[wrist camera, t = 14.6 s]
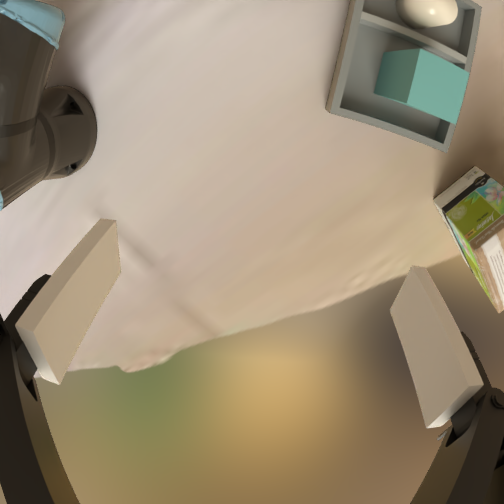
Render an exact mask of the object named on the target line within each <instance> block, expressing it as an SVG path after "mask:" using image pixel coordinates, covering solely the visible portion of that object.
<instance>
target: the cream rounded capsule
mask: <svg viewBox="0 0 504 504" xmlns="http://www.w3.org/2000/svg"><path fill="white" fill-rule="evenodd" d="M396 11H397V14H398V16H399V17H400V19H401V20H402V21H403V22H404V23H405V24H406V25H408V26H410V27H412V28H415V29H425V28H430V27H436V26H441V25H447V24H450V23H452V22H453V21H454V20H455V19H456V17H457V13H458V8H457V3H456V1H455V0H396Z"/></svg>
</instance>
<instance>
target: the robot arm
mask: <svg viewBox="0 0 504 504" xmlns="http://www.w3.org/2000/svg"><path fill="white" fill-rule="evenodd" d="M64 24H65V15H64V13H63V11H62V10H61V9H59V8H58V7H55V6H52V5H49V4H46V3H43V2H39V1H35V0H0V211H1V210H2V209H3V208H5V207H6V206H7V205H8V204H10V203H11V202H12V201H14V200H15V199H16V198H18V197H19V196H21V195H22V194H23V193H25V192H26V191H27V190H29V189H30V188H32V187H33V186H35V185H36V184H37V183H39V182H40V181H42V180H49V179H58V178H64V177H67V176H69V175H71V174H73V173H75V172H76V171H78V170H79V169H81V168H82V167H83V166H84V165H85V164H86V163H87V162H88V160H89V159H90V157H91V155H92V153H93V151H94V148H95V144H96V138H97V125H96V119H95V115H94V112H93V110H92V107H91V105H90V104H89V102H88V100H87V99H86V98H85V97H84V96H83V95H82V94H81V93H80V92H79V91H77V90H76V89H74V88H72V87H68V86H55V87H51V88H47V89H45V86H46V82H47V79H48V75H49V72H50V68H51V65H52V62H53V59H54V56H55V52H56V50H58V48H59V44H58V42H59V39H60V36H61V33H62V30H63V27H64ZM120 273H121V266H120V257H119V248H118V237H117V226H116V220H109V219H100V220H99V221H98V222H97V223H96V224H95V225H94V226H93V228H92V229H91V230H90V231H89V232H88V233H87V234H86V235H85V237H84V238H83V239H82V240H81V241H80V242H79V243H78V245H77V246H76V247H75V248H74V249H73V250H72V252H71V253H70V254H69V255H68V256H67V257H66V259H65V260H64V261H63V262H62V264H61V265H60V266H59V267H58V268H57V270H56V271H55V272H54V273H53V275H52V276H51V275H47V274H45V275H43V276H42V277H40V278H39V279H37V280H36V281H35V282H34V283H33V284H32V285H31V287H30V288H29V289H28V292H26V293H25V294H24V295H23V297H22V300H21V299H20V301H19V302H18V303H17V305H16V306H15V307H14V309H13V310H12V311H11V313H10V314H9V315H8V317H7V318H6V320H5V321H3V318H2V316H1V314H0V484H1V487H2V490H3V493H4V496H5V499H6V502H7V504H80V503H79V501H78V499H77V497H76V495H75V493H74V490H73V488H72V486H71V484H70V482H69V479H68V477H67V474H66V472H65V470H64V467H63V465H62V462H61V460H60V457H59V455H58V452H57V449H56V447H55V444H54V441H53V438H52V435H51V432H50V429H49V426H48V423H47V420H46V417H45V413H44V410H43V407H42V403H41V399H40V396H39V392H38V388H37V384H36V381H35V379H34V377H33V376H34V374H35V372H36V370H37V369H38V371H39V373H40V375H41V376H42V378H43V379H45V380H48V381H51V382H53V383H56V384H59V385H60V383H61V381H62V379H63V377H64V375H65V373H66V371H67V369H68V367H69V365H70V363H71V361H72V359H73V357H74V355H75V353H76V351H77V349H78V347H79V345H80V344H81V342H82V340H83V338H84V336H85V334H86V332H87V330H88V329H89V327H90V325H91V323H92V321H93V319H94V318H95V316H96V314H97V312H98V311H99V309H100V307H101V305H102V304H103V302H104V300H105V298H106V297H107V295H108V293H109V291H110V290H111V288H112V286H113V285H114V283H115V281H116V280H117V278H118V276H119V275H120ZM390 312H391V315H392V318H393V321H394V324H395V326H396V329H397V332H398V335H399V338H400V341H401V344H402V347H403V350H404V353H405V356H406V358H407V362H408V365H409V369H410V372H411V375H412V378H413V382H414V385H415V388H416V392H417V395H418V399H419V403H420V406H421V410H422V414H423V417H424V421H425V424H426V428H432V427H440V426H442V425H443V424H444V423H446V422H447V420H449V419H450V418H451V421H452V425H451V426H450V427H449V428H448V429H446V430H445V431H444V432H443V433H442V434H441V435H440V436H439V437H438V438H437V440H440V439H441V438H442V437H443V436H445V437H444V439H443V441H442V444H441V446H440V448H439V450H438V452H437V454H436V457H435V459H434V461H433V462H432V465H431V467H430V469H429V470H428V472H427V474H426V476H425V478H424V480H423V482H422V484H421V485H420V487H419V489H418V491H417V493H416V494H415V496H414V498H413V500H412V501H411V503H410V504H504V393H503V392H502V391H501V390H500V389H497V388H492V387H491V384H490V382H489V380H488V378H487V375H486V373H485V370H484V368H483V366H482V364H481V362H480V360H479V357H478V355H477V353H476V352H475V349H474V347H473V345H472V343H471V341H470V339H469V338H468V337H467V336H466V335H465V334H464V333H463V332H460V331H459V329H458V327H457V325H456V323H455V321H454V319H453V317H452V315H451V313H450V311H449V309H448V307H447V306H446V304H445V302H444V300H443V298H442V296H441V295H440V293H439V291H438V289H437V287H436V286H435V284H434V282H433V280H432V279H431V277H430V275H429V273H428V272H427V270H426V268H425V267H419V266H413V265H412V266H411V268H410V270H409V272H408V275H407V277H406V279H405V281H404V283H403V285H402V287H401V289H400V291H399V293H398V296H397V297H396V299H395V301H394V303H393V305H392V307H391V309H390Z"/></svg>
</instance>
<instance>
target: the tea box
mask: <svg viewBox="0 0 504 504" xmlns="http://www.w3.org/2000/svg"><path fill="white" fill-rule="evenodd" d="M433 200H434V203H435V205H436V207H437V209H438V211H439V213H440V214H441V216H442V218H443V220H444V222H445V224H446V225H447V227H448V229H449V231H450V233H451V235H452V237H453V239H454V241H455V243H456V245H457V247H458V249H459V251H460V253H461V255H462V257H463V259H464V261H465V262H466V264H467V265H468V266H469V268H470V269H471V271H472V273H473V274H474V276H475V277H476V278H477V280H478V282H479V283H480V284H481V286H482V288H483V289H484V291H485V293H486V294H487V296H488V297H489V299H490V300H491V302H492V304H493V305H494V307H495V308H496V310H497V311H498V313H500V312H501V311H503V310H504V187H503V186H502V185H500V184H499V183H498V182H497V181H495V180H494V179H493V178H491V177H490V176H488V175H487V174H486V173H485V172H483V171H482V170H480V169H479V168H478V167H476V166H474V167H473V168H472V169H471V170H470V171H468V172H467V173H466V174H465V175H463V176H462V177H461V178H460V179H458V180H457V181H456V182H455V183H453V184H452V185H451V186H450V187H448V188H447V189H446V190H445V191H443V192H442V193H441V194H439V195H438V196H437V197H436V198H434V199H433Z"/></svg>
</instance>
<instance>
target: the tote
mask: <svg viewBox="0 0 504 504" xmlns="http://www.w3.org/2000/svg"><path fill="white" fill-rule="evenodd" d="M455 1H456V3H457V8H458V13H457V17H456V19H455V20H454V21H453V22H452V23H450V24H447V25H441V26H436V27H430V28H425V29H415V28H412V27H410V26H408V25H406V24H405V23H404V22H403V21H402V20H401V19H400V17H399V16H398V14H397V11H396V0H350V4H349V9H348V14H347V18H346V23H345V28H344V32H343V37H342V41H341V46H340V50H339V54H338V59H337V63H336V67H335V71H334V76H333V80H332V84H331V88H330V92H329V97H328V101H327V105H326V110H327V111H328V112H329V113H331V114H335V115H338V116H342V117H345V118H349V119H352V120H356V121H359V122H362V123H366V124H369V125H372V126H375V127H378V128H381V129H384V130H387V131H390V132H393V133H396V134H399V135H401V136H404V137H407V138H410V139H412V140H415V141H418V142H420V143H423V144H425V145H428V146H430V147H433V148H435V149H438V150H440V151H443V152H445V153H447V152H448V149H449V146H450V143H451V140H452V137H453V134H454V130H455V127H456V125H455V124H453V123H450V122H448V121H446V120H443V119H441V118H438V117H436V116H433V115H431V114H428V113H425V112H423V111H420V110H417V109H415V108H412V107H409V106H407V105H404V104H402V103H399V102H396V101H394V100H391V99H388V98H385V97H382V96H380V95H377V94H374V90H375V86H376V82H377V78H378V74H379V70H380V65H381V61H382V57H383V53H384V52H391V51H399V50H409V49H419V48H420V49H423V50H425V51H427V52H429V53H431V54H434V55H436V56H438V57H440V58H442V59H444V60H446V61H448V62H450V63H452V64H454V65H456V66H457V67H459V68H461V69H463V70H465V71H467V72H469V75H470V71H471V66H472V61H473V57H474V52H475V46H476V41H477V35H478V29H479V23H480V16H481V9H482V7H481V6H479V5H478V4H476V3H475V2H473V1H471V0H455ZM468 79H469V77H468ZM467 83H468V81H467ZM466 87H467V85H466ZM465 91H466V89H465ZM464 95H465V93H464ZM463 99H464V97H463ZM462 103H463V101H462ZM461 107H462V105H461ZM460 110H461V108H460ZM459 114H460V112H459ZM458 117H459V115H458ZM457 121H458V119H457ZM456 124H457V122H456Z"/></svg>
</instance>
